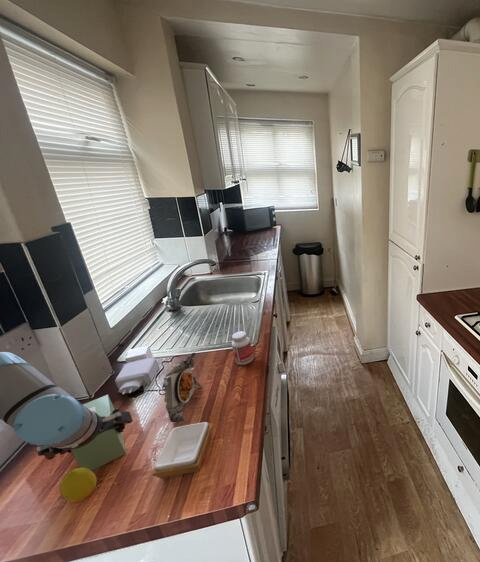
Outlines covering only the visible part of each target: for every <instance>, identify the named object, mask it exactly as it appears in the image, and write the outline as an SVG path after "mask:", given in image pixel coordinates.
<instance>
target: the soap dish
mask: <svg viewBox="0 0 480 562" xmlns="http://www.w3.org/2000/svg"><path fill="white" fill-rule="evenodd" d="M212 430H213V422H210V423H209V422H207V421H203V422H196V423H193V424H192V423H191V424H184V425H180V426H176V427H174V428H172V430H170V433H169V434H168V436H167V439H166V441H165V443H164V445H163V447H162V449H161V451H160V453H159V455H158V456H157V459H156V461H155V462H154V463H155V464H154V466H153V470H152V471H151V475H152V476H153V477H157V478H160V479H167V478H173V477H178V476H182V475H189V474H194V473H196V474H197V473H199V472H200V469H201V466H202V463H203V461H204V457H205V454H206V451H207V449H208V445H209V442H210V439H211V437H212V436H211V435H212Z"/></svg>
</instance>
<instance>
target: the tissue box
mask: <svg viewBox="0 0 480 562" xmlns="http://www.w3.org/2000/svg"><path fill="white" fill-rule="evenodd" d="M82 405H84V406H86V407H87V408H89V409H91V410H92V411H94V412H96V413H97V414H98V415H99V416H105V417H107V416H110V413H112V412H113V411H114V410H115V409H116V408H115V407H114V404H113V403H112V400H111V398H110V396H109V394H106V395H103V396H101V397H98V398H95V399H93V400H90V401H88V402H86V403H83V404H82ZM71 452H72V453H71V454H72V455H73V457H74V459H75V460H76V462H77V464H78V466H79V468H81V467H84V468H88V469H90V470H91V471H92V472H93V471H94V470H96V469H98V468H100V467H102V466H105V465H106V464H108V463H110V462H112V461H114V460H116V459H119V458H120V457H122V456H124V455H126V454H127V452H126V445H125V440H124V435H123V432H121V433H119V432H118V431H116V430H115V429H111V430H106V431H104V432H103V433H101V434H98V435H97V436H96V437H95V438H94V439H93V440H92V441H91V442H90V443H88V444H87V445H85V446H83V447H80V448H77V449H72V450H71Z"/></svg>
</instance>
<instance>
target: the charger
mask: <svg viewBox="0 0 480 562" xmlns="http://www.w3.org/2000/svg"><path fill="white" fill-rule="evenodd" d="M159 366H160V365H159V363H158V361H157V358H156V357H153V358H147V359H142V360H137V361H132V362H128V363H126V362H125V363H124V365H123V367H122V369H121V370H120V372H119V374H117V376H116V378H115V380H114V382H115V385H116V386H117V389H119V390H118V393H120V394H122V395H123V396H124V395H125V394H131V393H133V392H135V391H137V390H139V389H140V387H143V386H147V385H150V384H151V383H152V381H153V379H154V377H155V375H156V373H157V370H158V369H159Z"/></svg>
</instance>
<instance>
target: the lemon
mask: <svg viewBox="0 0 480 562" xmlns="http://www.w3.org/2000/svg"><path fill="white" fill-rule="evenodd" d="M97 482H98V481H97V476H96V474H95V473H94V471H93V470H92V471H91V470H90V469H88V468H84V467H77V468H74V469H72V470H70V471H68V472H67V473H66V474H65V475H64V476H63V478H62V479H61V481H60V483H59V492H60V495H61V497H62V498H63V499H64V500H66V501H67V502H72V503H76V502H80V501H82V500H84V499H86V498H88V497H89V496H90V495H91V494H92V493H93V492H94V490H95V488H96V486H97Z"/></svg>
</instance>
